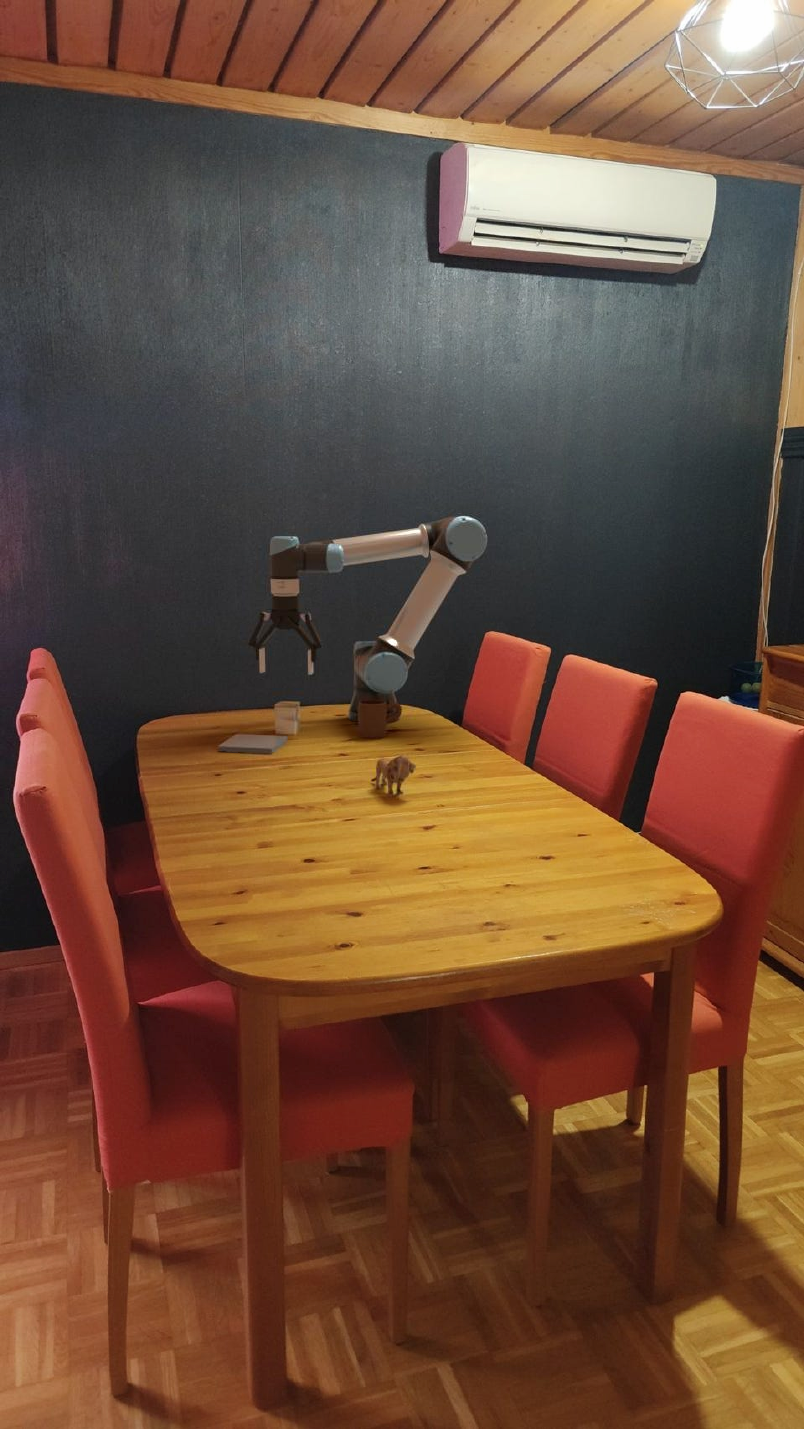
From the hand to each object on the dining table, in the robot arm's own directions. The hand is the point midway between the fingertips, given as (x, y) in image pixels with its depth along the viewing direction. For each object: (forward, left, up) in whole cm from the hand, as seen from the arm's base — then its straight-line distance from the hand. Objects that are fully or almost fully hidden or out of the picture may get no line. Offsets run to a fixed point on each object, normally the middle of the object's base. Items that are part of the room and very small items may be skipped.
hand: (286, 673), depth 262 cm
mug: (0, +26, -17) cm, 31 cm away
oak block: (0, 0, -16) cm, 17 cm away
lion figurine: (+52, +38, -17) cm, 67 cm away
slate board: (+18, -4, -16) cm, 25 cm away
